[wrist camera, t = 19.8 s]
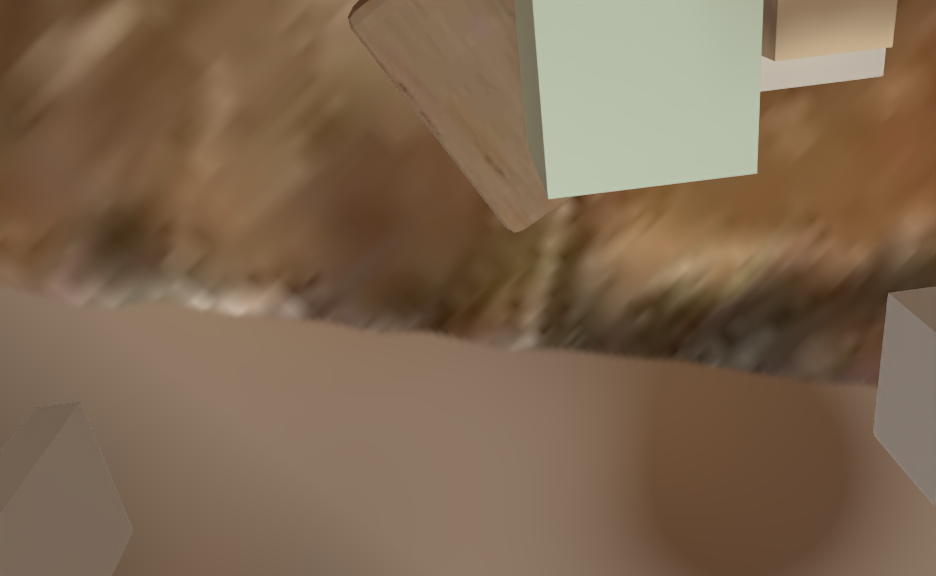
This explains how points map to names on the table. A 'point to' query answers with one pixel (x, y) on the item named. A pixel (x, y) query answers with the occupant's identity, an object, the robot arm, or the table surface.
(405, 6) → the wooden block
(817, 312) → the table surface
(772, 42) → the maple cube
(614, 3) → the sage cube
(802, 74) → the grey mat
